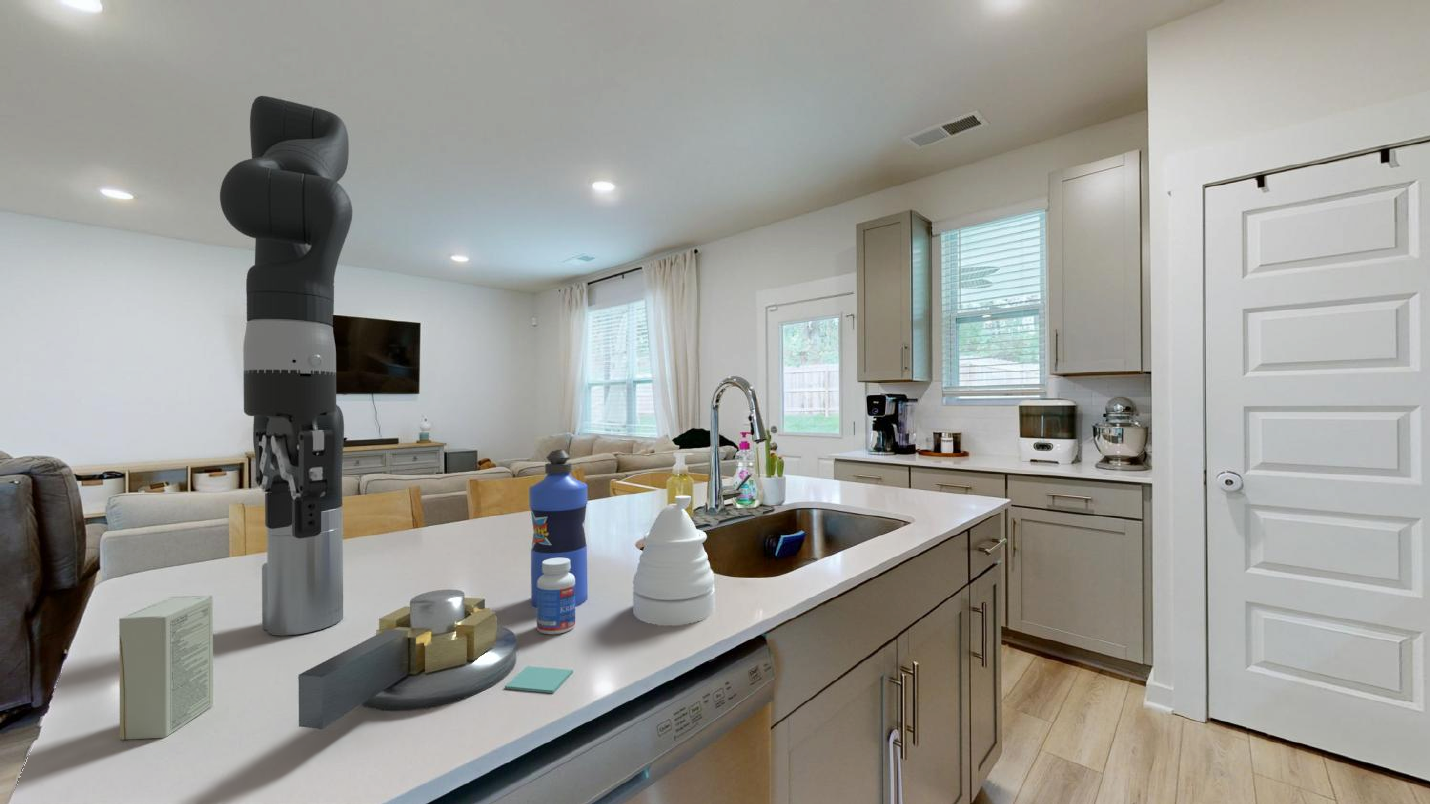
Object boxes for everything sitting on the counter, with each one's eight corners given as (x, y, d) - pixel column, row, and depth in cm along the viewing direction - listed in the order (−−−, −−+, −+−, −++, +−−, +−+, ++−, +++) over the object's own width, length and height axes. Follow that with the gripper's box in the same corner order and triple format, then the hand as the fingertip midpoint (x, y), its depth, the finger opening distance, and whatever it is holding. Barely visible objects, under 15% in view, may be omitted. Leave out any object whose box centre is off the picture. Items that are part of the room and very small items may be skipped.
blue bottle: (546, 615, 87) (544, 453, 88) (520, 600, 94) (519, 450, 95) (599, 600, 94) (597, 449, 94) (571, 587, 101) (570, 447, 101)
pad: (504, 688, 65) (504, 686, 65) (527, 668, 70) (527, 666, 70) (553, 693, 63) (553, 690, 63) (572, 672, 68) (572, 670, 68)
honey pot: (730, 604, 91) (728, 493, 91) (683, 632, 80) (682, 505, 80) (666, 591, 98) (665, 487, 98) (615, 615, 87) (614, 498, 87)
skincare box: (172, 708, 61) (171, 595, 61) (216, 706, 62) (215, 594, 62) (116, 742, 55) (115, 617, 55) (165, 739, 55) (164, 615, 56)
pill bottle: (565, 637, 79) (564, 567, 79) (529, 634, 80) (529, 565, 80) (581, 622, 84) (581, 556, 85) (548, 619, 86) (548, 555, 86)
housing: (310, 702, 62) (310, 620, 62) (425, 636, 80) (424, 572, 80) (456, 718, 59) (455, 631, 59) (542, 645, 76) (541, 578, 76)
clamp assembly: (428, 624, 77) (428, 589, 77) (514, 631, 74) (513, 594, 74) (253, 721, 53) (253, 670, 53) (370, 735, 51) (369, 681, 51)
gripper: (222, 370, 59) (223, 530, 58) (270, 363, 50) (272, 549, 50) (307, 373, 65) (308, 518, 65) (363, 367, 56) (364, 533, 56)
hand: (292, 531), depth 57 cm, fingers open, 7 cm apart
